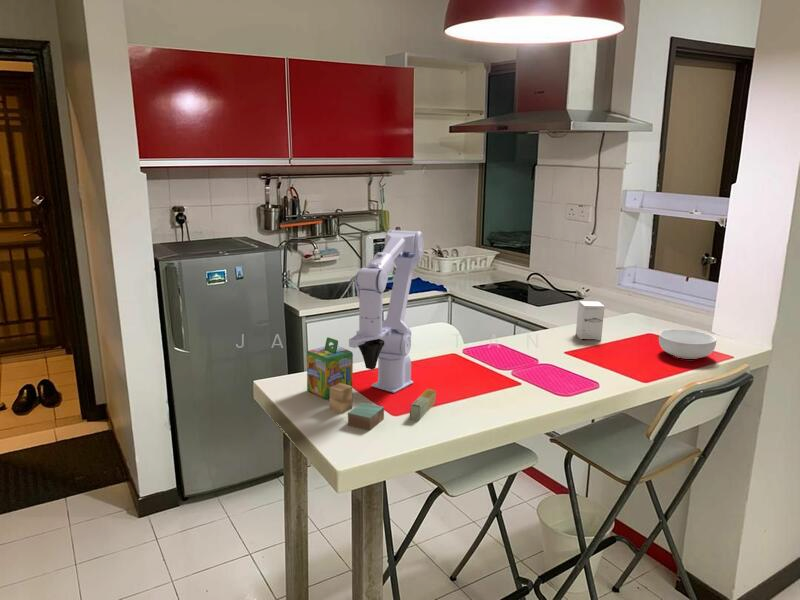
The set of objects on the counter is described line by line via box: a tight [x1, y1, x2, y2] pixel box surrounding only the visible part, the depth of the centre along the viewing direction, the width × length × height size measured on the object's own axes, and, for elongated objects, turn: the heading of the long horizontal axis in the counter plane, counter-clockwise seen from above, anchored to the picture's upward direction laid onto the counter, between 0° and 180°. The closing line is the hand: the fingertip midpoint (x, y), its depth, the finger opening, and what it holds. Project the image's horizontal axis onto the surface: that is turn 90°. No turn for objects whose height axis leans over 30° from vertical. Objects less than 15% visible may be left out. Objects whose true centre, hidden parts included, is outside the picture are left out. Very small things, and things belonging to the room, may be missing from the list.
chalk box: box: [306, 336, 354, 401], centre depth 162 cm, size 9×9×15 cm
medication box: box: [409, 388, 437, 422], centre depth 152 cm, size 12×3×4 cm, turn 158°
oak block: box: [329, 383, 353, 414], centre depth 152 cm, size 4×4×6 cm
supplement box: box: [575, 300, 606, 341], centre depth 213 cm, size 7×7×13 cm
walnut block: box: [347, 401, 385, 432], centre depth 145 cm, size 4×6×7 cm
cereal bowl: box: [658, 328, 717, 359], centre depth 194 cm, size 17×17×7 cm
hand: (370, 368), depth 152 cm, fingers closed
